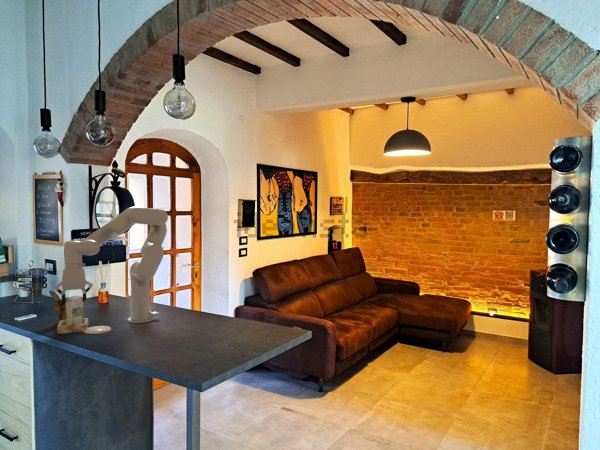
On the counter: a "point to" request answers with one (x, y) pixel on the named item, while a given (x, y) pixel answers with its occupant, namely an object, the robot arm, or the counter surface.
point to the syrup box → (74, 310)
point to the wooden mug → (58, 302)
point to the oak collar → (72, 327)
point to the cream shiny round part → (97, 329)
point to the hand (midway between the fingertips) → (74, 301)
